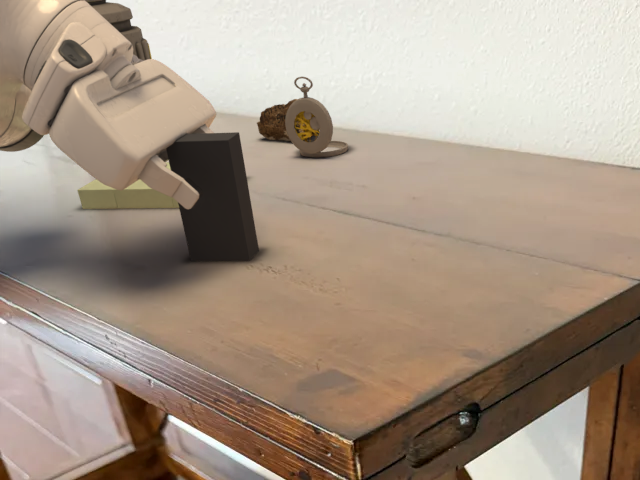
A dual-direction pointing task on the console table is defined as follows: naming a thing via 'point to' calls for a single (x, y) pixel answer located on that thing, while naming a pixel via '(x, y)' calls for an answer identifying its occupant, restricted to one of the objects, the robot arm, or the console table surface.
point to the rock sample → (275, 122)
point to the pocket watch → (311, 126)
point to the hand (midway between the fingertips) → (215, 186)
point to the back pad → (216, 197)
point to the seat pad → (124, 196)
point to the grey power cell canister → (123, 25)
